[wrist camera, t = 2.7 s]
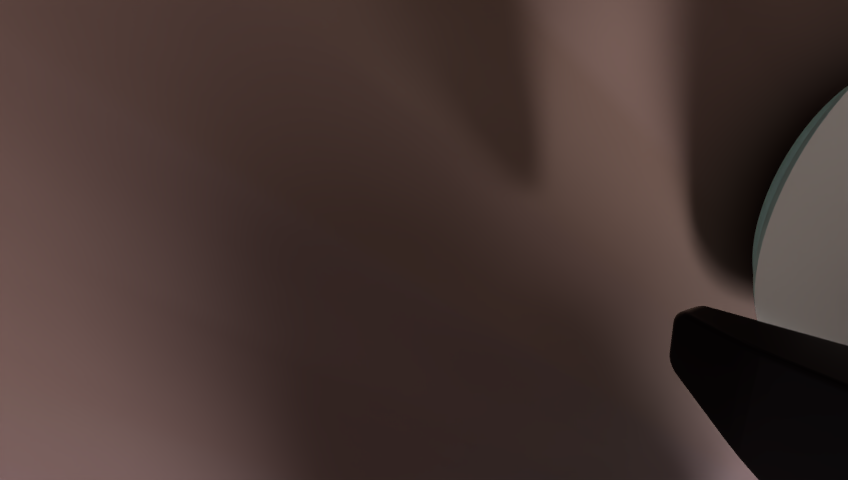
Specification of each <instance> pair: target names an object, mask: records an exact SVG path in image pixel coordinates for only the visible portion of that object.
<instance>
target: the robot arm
mask: <svg viewBox="0 0 848 480" xmlns="http://www.w3.org/2000/svg"><path fill="white" fill-rule="evenodd" d="M670 362H671V365H672V367H673V369H674V371H675V373H676V374H677V375H678V377H679V378H680V380H681V381H682V382H683V384H684V385H685V386H686V388H687V389H688V390H689V392H690V393H691V394H692V396H693V397H694V398H695V400H696V401H697V402H698V404H699V405H700V406H701V408H702V409H703V410H704V412H705V413H706V414H707V416H708V417H709V418H710V420H711V421H712V423H713V424H714V425H715V427H716V428H717V429H718V431H719V432H720V433H721V435H722V436H723V437H724V439H725V440H726V441H727V443H728V444H729V445H730V446H731V448H732V449H733V450H734V452H735V453H736V454H737V455H738V457H739V458H740V459H741V460H742V461H743V462H744V464H745V465H746V466H747V467H748V468H749V469H750V471H751V472H752V473H753V474H754V475H755V476H756V477H757V478H758V479H759V480H848V345H844V344H840V343H837V342H833V341H830V340H826V339H822V338H819V337H815V336H812V335H808V334H804V333H801V332H797V331H793V330H790V329H786V328H783V327H779V326H775V325H772V324H768V323H765V322H761V321H757V320H754V319H750V318H746V317H743V316H739V315H736V314H732V313H728V312H725V311H721V310H718V309H714V308H710V307H706V306H697V307H694V308H691V309H688V310H685V311H682V312H680V313H678V314H677V315H676V317H675V319H674V322H673V331H672V339H671V347H670Z"/></svg>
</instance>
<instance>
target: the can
mask: <svg viewBox="0 0 848 480" xmlns="http://www.w3.org/2000/svg"><path fill="white" fill-rule="evenodd" d="M752 266H753V295H754V304H755V311H756V317H757V321H761V322H765V323H768V324H772V325H775V326H779V327H783V328H786V329H790V330H793V331H797V332H801V333H804V334H808V335H812V336H815V337H819V338H822V339H826V340H830V341H833V342H837V343H840V344H844V345H848V86H847V87H845V88H844V89H843V90H842V91H840V92H839V93H838V94H837V95H836V96H834V97H833V98H832V99H831V100H830V101H829V102H828V103H827V104H826V105H825V106H824V107H823V108H822V109H821V110H820V111H819V112H818V113H817V114H816V115H815V117H814V118H813V119H812V120H811V121H810V123H809V124H808V125H807V126H806V127H805V129H804V130H803V131H802V133H801V134H800V136H799V137H798V138H797V140H796V141H795V143H794V144H793V146H792V147H791V149H790V150H789V152H788V153H787V155H786V157H785V158H784V160H783V162H782V164H781V165H780V167H779V169H778V171H777V173H776V175H775V177H774V179H773V181H772V183H771V186H770V188H769V190H768V192H767V195H766V198H765V200H764V203H763V206H762V209H761V212H760V215H759V219H758V222H757V227H756V231H755V237H754V243H753V253H752Z"/></svg>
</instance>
